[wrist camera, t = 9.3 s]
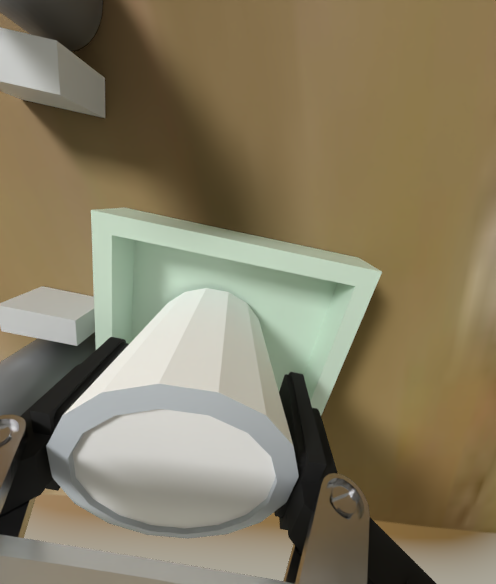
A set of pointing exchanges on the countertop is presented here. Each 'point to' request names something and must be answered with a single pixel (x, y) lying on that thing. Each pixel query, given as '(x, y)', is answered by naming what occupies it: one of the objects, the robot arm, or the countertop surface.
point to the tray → (232, 287)
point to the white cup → (181, 427)
